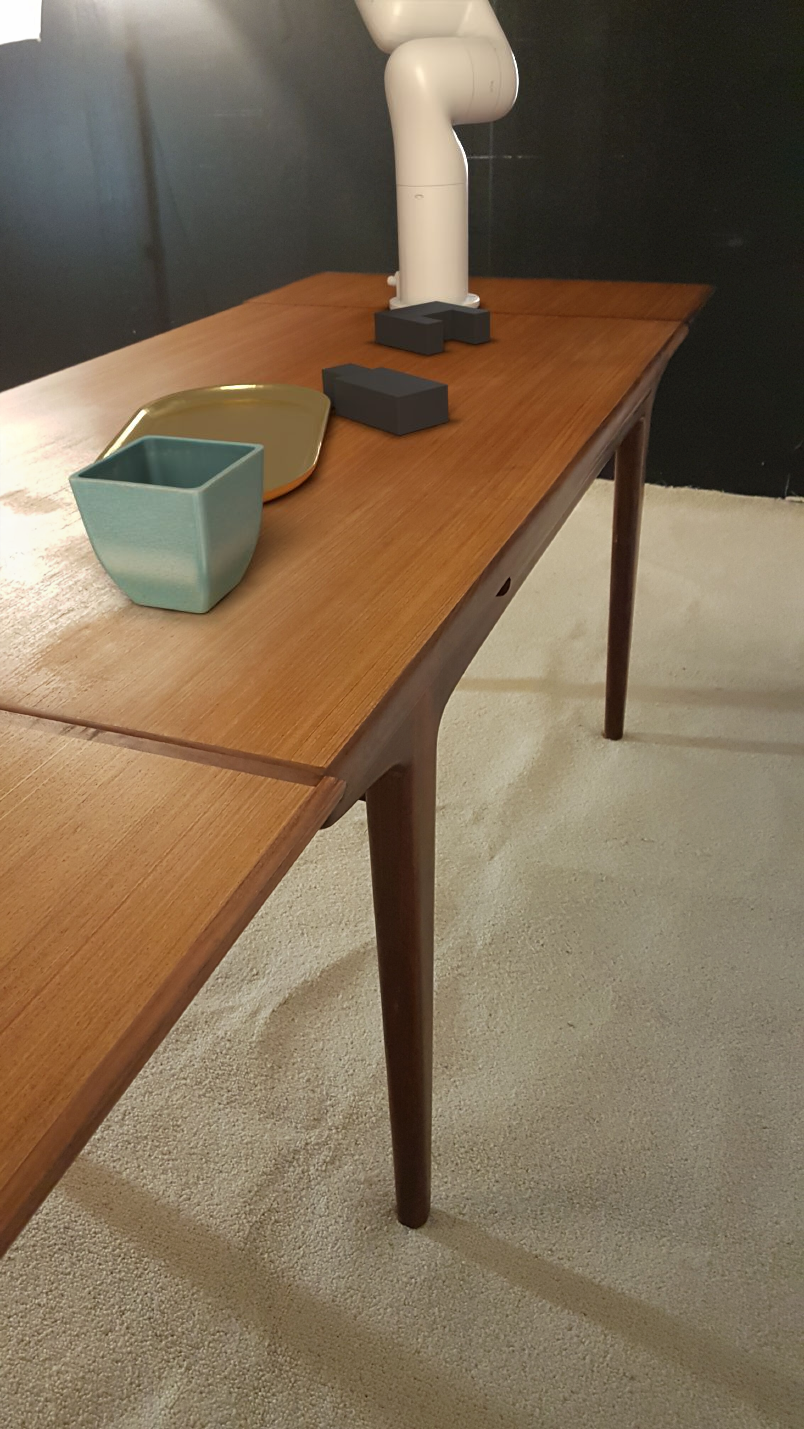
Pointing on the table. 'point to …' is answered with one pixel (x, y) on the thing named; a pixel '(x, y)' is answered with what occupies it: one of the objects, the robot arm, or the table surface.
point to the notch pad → (431, 326)
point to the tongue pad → (386, 398)
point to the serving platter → (243, 425)
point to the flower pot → (174, 517)
